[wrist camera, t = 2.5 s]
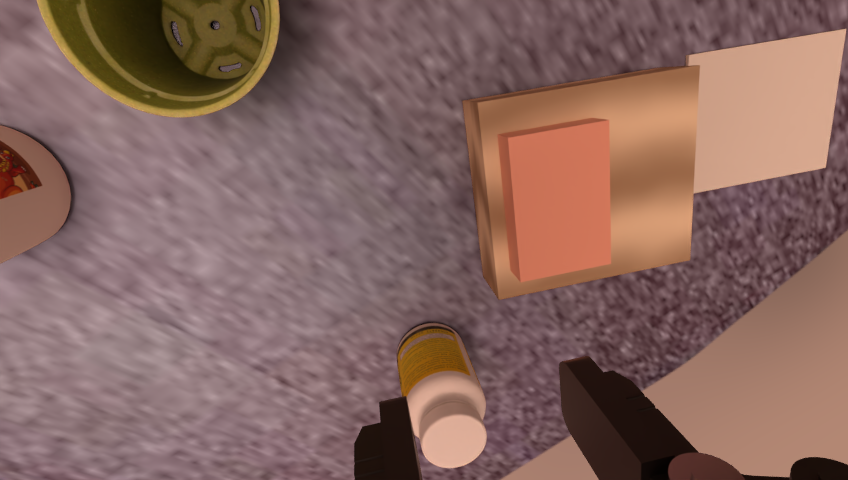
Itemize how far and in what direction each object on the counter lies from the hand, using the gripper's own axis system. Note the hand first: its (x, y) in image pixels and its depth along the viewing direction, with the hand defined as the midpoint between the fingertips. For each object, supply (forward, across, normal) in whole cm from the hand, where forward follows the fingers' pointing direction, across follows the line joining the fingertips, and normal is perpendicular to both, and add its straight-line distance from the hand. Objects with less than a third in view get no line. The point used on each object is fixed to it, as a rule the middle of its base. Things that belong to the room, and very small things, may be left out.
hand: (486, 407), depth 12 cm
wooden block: (+21, -12, 0) cm, 24 cm away
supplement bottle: (+21, 0, +12) cm, 25 cm away
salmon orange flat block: (+17, -9, 0) cm, 19 cm away
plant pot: (+21, +9, -13) cm, 27 cm away
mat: (+21, -27, -2) cm, 34 cm away
